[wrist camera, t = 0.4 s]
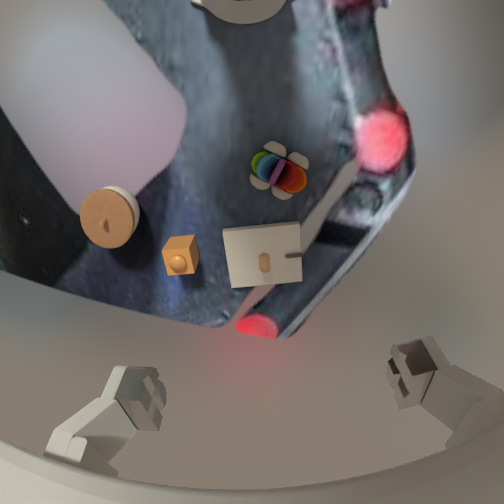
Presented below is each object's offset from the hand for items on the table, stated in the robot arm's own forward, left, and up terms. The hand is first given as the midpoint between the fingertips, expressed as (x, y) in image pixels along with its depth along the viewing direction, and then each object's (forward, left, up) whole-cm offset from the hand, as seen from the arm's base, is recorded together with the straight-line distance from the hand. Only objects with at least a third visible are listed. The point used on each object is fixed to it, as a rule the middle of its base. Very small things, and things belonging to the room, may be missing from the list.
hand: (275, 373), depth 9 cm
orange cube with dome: (+15, -16, -46) cm, 50 cm away
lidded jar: (+5, -27, -46) cm, 53 cm away
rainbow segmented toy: (+2, +3, -46) cm, 46 cm away
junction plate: (+18, -1, -46) cm, 49 cm away
